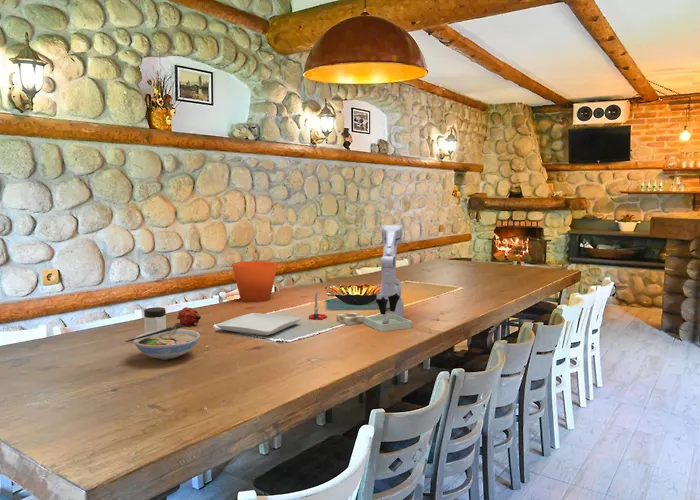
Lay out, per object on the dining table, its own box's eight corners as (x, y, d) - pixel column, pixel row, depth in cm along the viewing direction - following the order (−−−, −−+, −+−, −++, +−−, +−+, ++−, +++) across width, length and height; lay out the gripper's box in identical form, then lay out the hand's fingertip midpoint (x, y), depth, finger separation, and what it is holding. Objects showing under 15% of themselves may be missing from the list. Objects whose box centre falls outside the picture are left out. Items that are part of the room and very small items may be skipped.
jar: (167, 339, 219) (166, 310, 217) (146, 342, 215) (145, 312, 214) (164, 334, 227) (163, 306, 225) (144, 336, 223) (142, 308, 222)
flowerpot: (287, 298, 305) (287, 263, 303) (257, 305, 284) (256, 268, 282) (254, 293, 319) (253, 259, 317) (222, 300, 298) (221, 264, 296)
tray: (392, 320, 254) (393, 313, 253) (411, 327, 240) (412, 321, 240) (363, 323, 246) (363, 317, 246) (381, 331, 233) (381, 324, 232)
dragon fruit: (180, 325, 248) (198, 333, 242) (168, 318, 241) (187, 325, 235) (190, 309, 251) (208, 316, 245) (179, 301, 244) (197, 308, 238)
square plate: (302, 325, 245) (302, 316, 245) (268, 340, 220) (268, 330, 220) (252, 319, 256) (252, 311, 256) (214, 332, 232) (214, 323, 231)
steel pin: (383, 321, 246) (383, 306, 245) (391, 323, 244) (392, 307, 243) (378, 323, 243) (379, 308, 242) (387, 325, 240) (387, 309, 240)
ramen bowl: (160, 372, 180) (159, 348, 179) (117, 360, 192) (116, 337, 191) (216, 353, 201) (215, 331, 200) (174, 344, 213) (173, 323, 212)
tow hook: (311, 315, 264) (306, 319, 255) (311, 289, 263) (307, 292, 254) (328, 316, 263) (324, 320, 254) (328, 290, 262) (324, 292, 253)
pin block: (355, 318, 257) (355, 312, 257) (365, 322, 248) (365, 316, 248) (336, 320, 252) (336, 314, 252) (346, 325, 244) (346, 318, 243)
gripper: (389, 279, 249) (389, 308, 251) (371, 283, 238) (370, 314, 239) (402, 281, 245) (402, 310, 246) (384, 285, 234) (384, 316, 235)
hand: (387, 312), depth 243 cm, fingers open, 7 cm apart
